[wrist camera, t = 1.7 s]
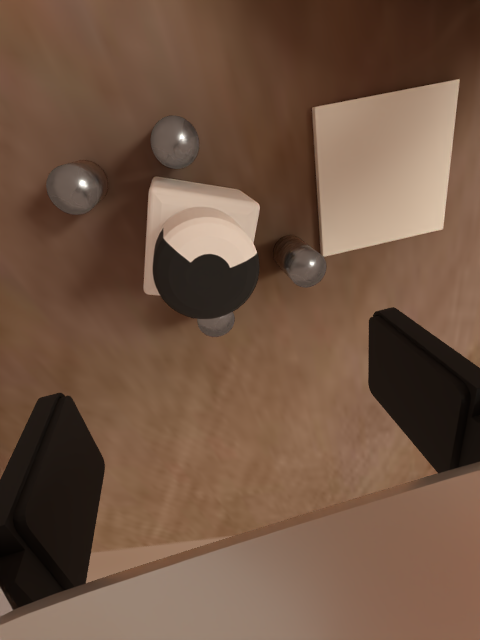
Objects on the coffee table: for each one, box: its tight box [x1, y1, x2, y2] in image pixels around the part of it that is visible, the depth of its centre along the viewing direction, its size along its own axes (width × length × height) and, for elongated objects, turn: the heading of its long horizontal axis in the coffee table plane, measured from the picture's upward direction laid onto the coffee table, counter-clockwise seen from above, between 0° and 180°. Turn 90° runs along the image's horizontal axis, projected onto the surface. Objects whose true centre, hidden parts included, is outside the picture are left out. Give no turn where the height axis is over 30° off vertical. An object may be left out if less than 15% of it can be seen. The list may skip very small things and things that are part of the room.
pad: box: [312, 79, 460, 257], centre depth 30 cm, size 12×12×1 cm
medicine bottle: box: [143, 176, 260, 319], centre depth 25 cm, size 7×7×12 cm
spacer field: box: [46, 116, 326, 337], centre depth 28 cm, size 18×16×5 cm
